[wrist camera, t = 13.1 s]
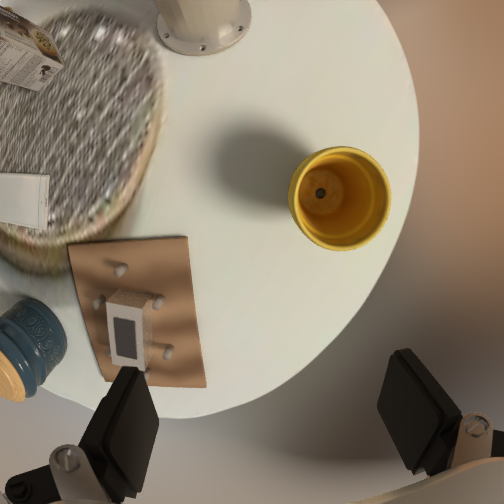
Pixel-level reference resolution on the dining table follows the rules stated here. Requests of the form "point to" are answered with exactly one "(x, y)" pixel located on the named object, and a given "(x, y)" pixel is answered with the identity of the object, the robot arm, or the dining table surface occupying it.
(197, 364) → the wooden peg board
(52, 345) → the canister
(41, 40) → the coffee box
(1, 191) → the hard drive
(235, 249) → the dining table surface
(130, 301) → the block
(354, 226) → the plant pot
